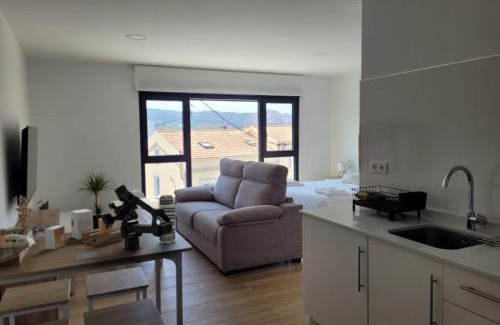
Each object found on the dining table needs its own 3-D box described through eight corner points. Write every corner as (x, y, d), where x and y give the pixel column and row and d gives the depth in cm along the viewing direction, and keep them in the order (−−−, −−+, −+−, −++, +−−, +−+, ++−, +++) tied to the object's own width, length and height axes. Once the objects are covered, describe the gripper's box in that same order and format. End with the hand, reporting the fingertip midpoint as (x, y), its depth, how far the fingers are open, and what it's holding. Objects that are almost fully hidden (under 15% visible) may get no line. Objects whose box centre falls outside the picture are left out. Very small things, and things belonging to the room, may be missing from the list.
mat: (95, 252, 184) (95, 251, 184) (97, 257, 176) (97, 256, 176) (75, 255, 180) (75, 254, 180) (76, 260, 172) (76, 259, 172)
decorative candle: (155, 243, 198) (154, 196, 196) (163, 238, 207) (162, 193, 205) (171, 244, 196) (170, 197, 194) (179, 239, 205) (177, 194, 203)
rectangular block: (111, 239, 203) (111, 217, 202) (102, 241, 198) (101, 219, 197) (109, 238, 204) (108, 216, 203) (99, 241, 199) (98, 218, 198)
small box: (54, 250, 188) (53, 229, 187) (45, 249, 189) (44, 228, 188) (65, 245, 196) (64, 225, 195) (56, 244, 197) (55, 225, 196)
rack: (122, 240, 204) (122, 231, 204) (99, 246, 193) (98, 237, 192) (105, 235, 213) (104, 227, 213) (81, 241, 202) (81, 232, 202)
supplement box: (71, 237, 212) (69, 210, 210) (86, 233, 218) (85, 208, 217) (77, 240, 206) (76, 213, 204) (93, 236, 212) (92, 210, 211)
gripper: (134, 193, 199) (122, 211, 206) (102, 198, 184) (90, 218, 191) (144, 209, 195) (131, 227, 202) (112, 216, 180) (100, 235, 187)
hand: (113, 226), depth 196 cm, fingers open, 9 cm apart
